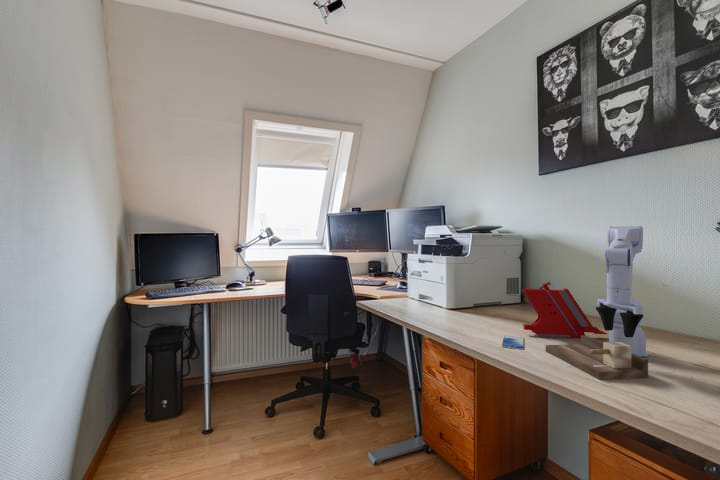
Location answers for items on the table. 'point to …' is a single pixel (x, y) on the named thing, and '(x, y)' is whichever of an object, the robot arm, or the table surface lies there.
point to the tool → (557, 314)
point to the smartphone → (513, 342)
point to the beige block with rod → (615, 354)
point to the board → (597, 360)
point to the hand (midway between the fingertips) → (618, 333)
